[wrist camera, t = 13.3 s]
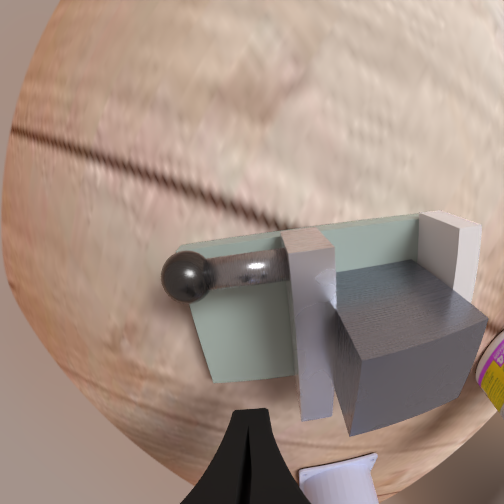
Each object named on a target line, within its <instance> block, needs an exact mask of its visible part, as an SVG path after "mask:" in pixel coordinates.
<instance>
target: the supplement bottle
mask: <svg viewBox="0 0 504 504" xmlns="http://www.w3.org/2000/svg"><path fill="white" fill-rule="evenodd" d="M476 381H477V383H478V384H479V386H480V387H481V389H482V390H483V391H484V393H485V394H486V395H487V397H488V398H489V399H490V401H491V402H492V403H493V405H494V406H495V408H496V409H497V410H498V412H499V413H500V415H501V416H502V417H503V419H504V330H503V331H502V332H501V333H500V334H499V335H498V336H497V337H496V338H495V339H494V340H493V341H492V343H491V344H490V345H489V346H488V348H487V349H486V351H485V352H484V354H483V356H482V357H481V359H480V361H479V364H478V366H477V370H476Z"/></svg>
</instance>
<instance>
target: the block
mask: <svg viewBox="0 0 504 504" xmlns="http://www.w3.org/2000/svg"><path fill="white" fill-rule="evenodd" d="M336 301H337V328H336V365H335V384H334V388H335V391H336V394H337V397H338V400H339V404H340V407H341V410H342V413H343V417H344V420H345V423H346V427H347V430H348V434H349V437H350V436H354V435H358V434H362V433H366V432H369V431H373V430H376V429H380V428H383V427H386V426H389V425H392V424H395V423H398V422H401V421H404V420H407V419H409V418H412V417H415V416H417V415H420V414H422V413H425V412H427V411H429V410H432V409H434V408H436V407H439V406H441V405H443V404H445V403H447V402H450V401H452V400H454V399H456V398H458V396H459V394H460V392H461V390H462V388H463V386H464V384H465V381H466V379H467V377H468V375H469V372H470V370H471V367H472V365H473V362H474V360H475V357H476V355H477V352H478V349H479V346H480V344H481V341H482V338H483V335H484V332H485V328H486V325H487V322H488V317H486V316H485V315H484V314H483V313H482V312H481V311H479V310H478V309H477V308H476V307H474V306H473V305H472V304H471V303H470V302H468V301H467V300H466V299H465V298H463V297H462V296H461V295H459V294H458V293H457V292H456V291H454V290H453V289H452V288H450V287H449V286H448V285H446V284H445V283H444V282H442V281H441V280H440V279H438V278H437V277H436V276H434V275H433V274H432V273H430V272H429V271H427V270H426V269H425V268H423V267H422V266H420V265H419V264H418V263H416V262H415V261H413V260H412V259H410V260H404V261H399V262H394V263H388V264H382V265H377V266H371V267H365V268H359V269H353V270H347V271H341V272H336Z"/></svg>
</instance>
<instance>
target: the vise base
mask: <svg viewBox="0 0 504 504" xmlns="http://www.w3.org/2000/svg"><path fill="white" fill-rule="evenodd" d="M312 227H316V228H317V229H318V230H319V231H320V232H321V233H322V234H323V235H324V236H325V237H326V238H327V239H328V240H329V241H330V243H331V244H332V245H333V246H334V247H335V263H336V272H341V271H347V270H353V269H359V268H365V267H371V266H377V265H382V264H388V263H394V262H399V261H404V260H410V259H412V260H413V261H415V262H416V263H418V264H419V265H420V266H422V267H423V268H425V269H426V270H427V271H429V272H430V273H432V274H433V275H434V276H436V277H437V278H438V279H440V280H441V281H442V282H444V283H445V284H446V285H448V286H449V287H450V288H452V289H453V290H454V291H456V292H457V293H458V294H459V295H461V296H462V297H463V298H465V299H466V300H467V301H468V302H470V303H471V301H472V296H473V291H474V286H475V281H476V275H477V268H478V261H479V253H480V244H481V233H482V225H481V224H478V223H475V222H473V221H470V220H467V219H465V218H462V217H459V216H456V215H453V214H450V213H448V212H445V211H442V210H438V211H429V212H419V214H410V215H402V216H393V217H384V218H376V219H367V220H359V221H351V222H343V223H335V224H327V225H320V226H312ZM304 228H309V227H304ZM297 229H302V228H297ZM289 230H294V229H289ZM282 231H287V230H282ZM277 248H282V244H281V236H280V231H275V232H267V233H260V234H253V235H246V236H239V237H232V238H225V239H219V240H212V241H205V242H199V243H192V244H185V245H181V246H180V247H179V249H178V250H177V251H176V253H177V252H180V251H186V250H188V251H194V252H197V253H200V254H201V255H203V256H204V257H205V258H213V257H220V256H227V255H234V254H241V253H249V252H256V251H263V250H270V249H277ZM189 305H190V309H191V312H192V316H193V319H194V323H195V326H196V329H197V333H198V336H199V339H200V343H201V346H202V349H203V352H204V355H205V358H206V362H207V365H208V368H209V371H210V374H211V377H212V380H213V383H225V382H239V381H251V380H261V379H270V378H278V377H286V376H293V375H295V373H294V360H293V349H292V338H291V327H290V317H289V307H288V297H287V288H286V281H282V282H275V283H268V284H260V285H253V286H245V287H237V288H229V289H221V290H212V291H210V292H209V294H208V295H207V296H206V297H205V298H204V299H202V300H201V301H199V302H196V303H192V304H189Z"/></svg>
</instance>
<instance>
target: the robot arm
mask: <svg viewBox="0 0 504 504" xmlns="http://www.w3.org/2000/svg"><path fill="white" fill-rule="evenodd" d="M377 457H378V455H377V453H373V454H369V455H366V456H362V457H358V458H354V459H350V460H346V461H342V462H338V463H333V464H328V465H323V466H317V467H311V468H305V469H301V470H299V484H300V487H299V486H298V484H297V483H296V481H295V480H294V478H293V476H292V475H291V473H290V471H289V469H288V467H287V465H286V463H285V462H284V460H283V457H282V455H281V453H280V451H279V448H278V446H277V444H276V441H275V438H274V436H273V432H272V428H271V422H270V417H269V412H268V409H266V408H259V409H246V410H235V411H233V413H232V417H231V420H230V423H229V426H228V428H227V431H226V433H225V435H224V438H223V440H222V442H221V444H220V446H219V448H218V450H217V452H216V454H215V456H214V458H213V459H212V461H211V463H210V465H209V466H208V468H207V470H206V471H205V473H204V474H203V476H202V477H201V479H200V480H199V481H198V483H197V484H196V485H195V487H194V488H193V489H192V490H191V492H190V493H189V494H188V495H187V496H186V498H185V499H184V500H183V501H182V502H181V503H180V504H379V502H378V499H377V495H376V491H375V488H374V484H373V481H372V477H371V474H370V471H371V469H372V467H373V465H374V463H375V461H376V459H377Z"/></svg>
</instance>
